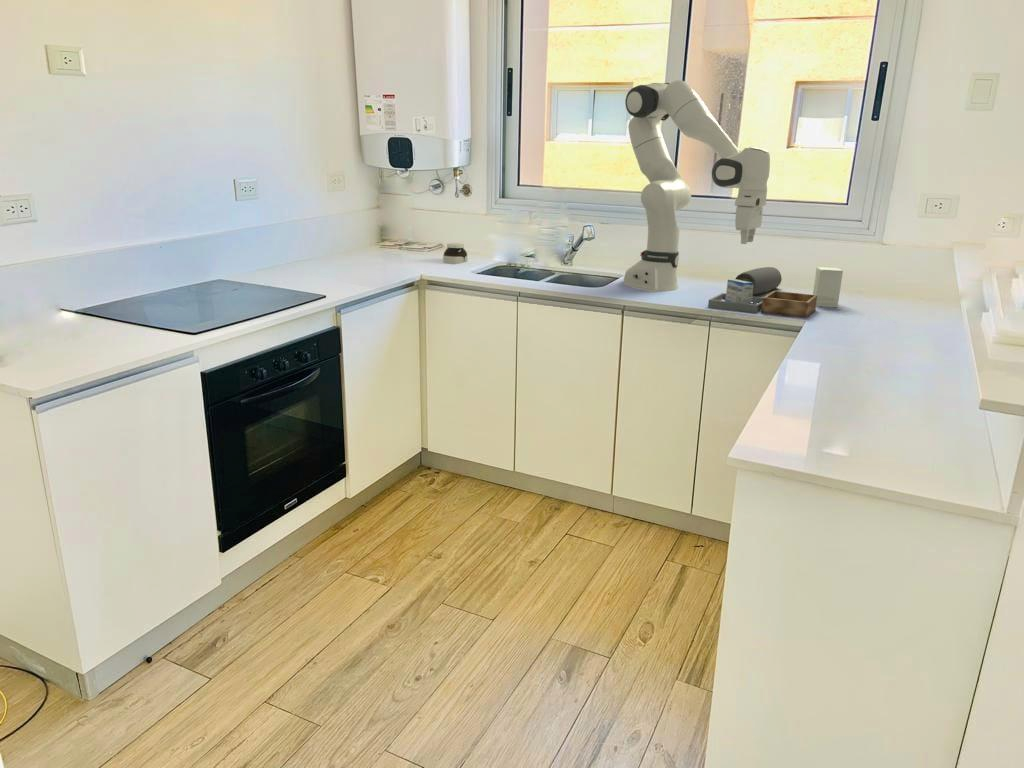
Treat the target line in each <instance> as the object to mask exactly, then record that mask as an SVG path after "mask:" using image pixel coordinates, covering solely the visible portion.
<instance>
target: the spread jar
mask: <svg viewBox="0 0 1024 768" xmlns="http://www.w3.org/2000/svg"><path fill="white" fill-rule="evenodd" d="M464 246H465V244H464V243H463V242H448V243H446V247H447V248H445V251H444V253H443V256H442V257H443V258H442V259H443V261H442V262H443V263H444V264H449V265H460V264H465V263H467V262H468V252H467V251H466V249H465V248H464Z"/></svg>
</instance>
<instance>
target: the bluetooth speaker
mask: <svg viewBox="0 0 1024 768" xmlns="http://www.w3.org/2000/svg"><path fill="white" fill-rule="evenodd" d="M734 279H738V280H742V281H747V282H752V283H754V286H753V294H752V296H753V297H754V296H759V295H762V294H765V293H768V292H770V291H771V292H772V290H773V291H774V290H775V289H776V288H778V287H779V286H780V285H781V283H782V280H783V279H782V274H781V271H780V270H779V269H778V268H776V267H772V266H766V267H758V268H754V269H749V270H747V271H744V272H741V273H740V274H738V275H736V277H735V278H734Z"/></svg>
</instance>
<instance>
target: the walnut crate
mask: <svg viewBox="0 0 1024 768" xmlns="http://www.w3.org/2000/svg"><path fill="white" fill-rule="evenodd" d="M762 298H763V301H762V310H761V311H760V313H761V314H770V315H776V316H783V317H792V318H802V319H807V318H809V317H810V316H811V315H812V314H813V313H814V312H815V311H816V310H817V309H816V308H817V306H816V302H817V295H813V294H810V293H809V294H808V293H799V292H791V291H790V292H789V291H779V290H773V291H771V292H769V293H767V294H766V295H764V296H763V297H762Z"/></svg>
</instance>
